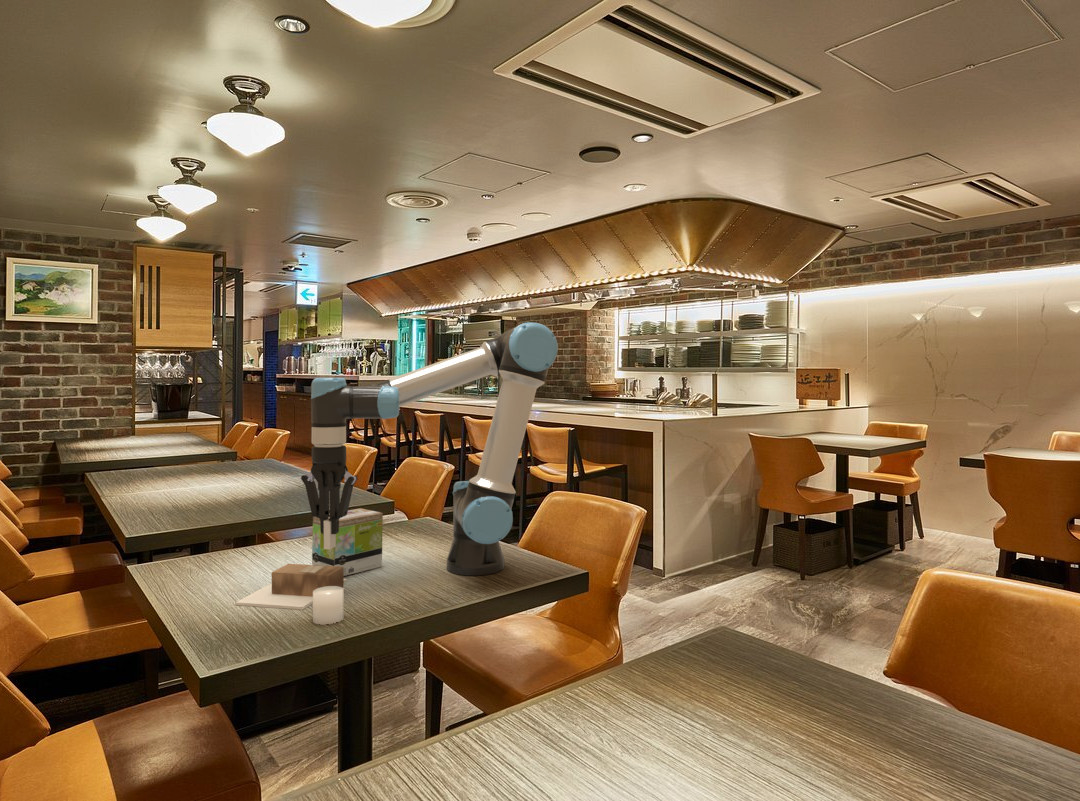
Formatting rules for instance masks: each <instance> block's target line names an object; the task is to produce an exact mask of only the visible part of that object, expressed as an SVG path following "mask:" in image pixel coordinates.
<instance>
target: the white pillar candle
mask: <svg viewBox="0 0 1080 801" xmlns="http://www.w3.org/2000/svg"><path fill="white" fill-rule="evenodd" d="M344 607H345V606H344V588H342V587H339V586H326V587H321V588H318V589H315V590H314V591H313V604H312V622H313V623H314V624H315V625H319V624H320V625H321V626H327V625H326V624H329V625H333V623H334V624H337V623H336V622H338V623H340V622H342V621H343V620H344V618H345V617H344V611H345V609H344ZM341 620H342V621H341Z"/></svg>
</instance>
